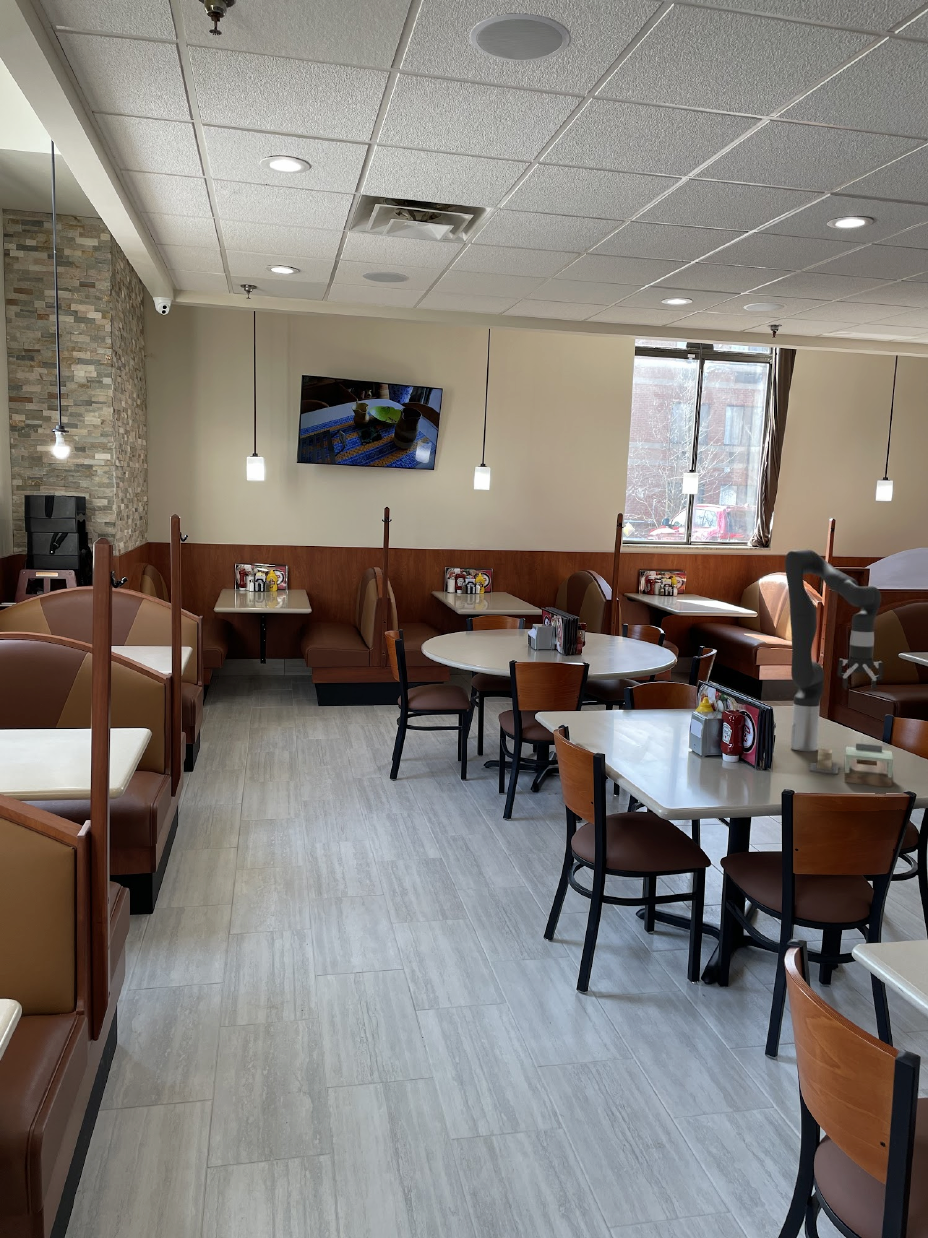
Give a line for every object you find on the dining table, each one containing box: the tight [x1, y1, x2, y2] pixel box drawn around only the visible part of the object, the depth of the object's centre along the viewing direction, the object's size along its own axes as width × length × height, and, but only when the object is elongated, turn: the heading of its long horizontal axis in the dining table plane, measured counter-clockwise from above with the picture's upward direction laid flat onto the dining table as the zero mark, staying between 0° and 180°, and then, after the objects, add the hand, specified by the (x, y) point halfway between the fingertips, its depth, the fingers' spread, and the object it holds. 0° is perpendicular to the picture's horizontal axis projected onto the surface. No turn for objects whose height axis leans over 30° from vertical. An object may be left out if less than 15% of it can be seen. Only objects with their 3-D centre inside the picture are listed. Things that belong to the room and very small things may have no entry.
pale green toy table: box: [844, 742, 894, 778], centre depth 300 cm, size 14×11×8 cm
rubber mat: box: [809, 762, 839, 775], centre depth 313 cm, size 9×9×1 cm
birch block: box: [817, 748, 833, 770], centre depth 313 cm, size 4×4×6 cm
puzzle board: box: [843, 754, 893, 788], centre depth 307 cm, size 14×25×3 cm, turn 157°
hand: (858, 689), depth 314 cm, fingers open, 8 cm apart
